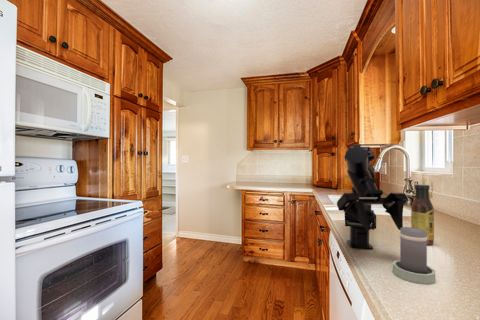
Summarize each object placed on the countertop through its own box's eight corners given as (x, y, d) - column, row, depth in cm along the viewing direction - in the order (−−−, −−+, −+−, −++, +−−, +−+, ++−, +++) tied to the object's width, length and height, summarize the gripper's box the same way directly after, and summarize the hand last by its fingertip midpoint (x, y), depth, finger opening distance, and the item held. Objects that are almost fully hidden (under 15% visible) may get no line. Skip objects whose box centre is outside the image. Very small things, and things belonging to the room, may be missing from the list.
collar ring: (388, 266, 63) (388, 259, 63) (423, 269, 61) (423, 261, 61) (401, 281, 55) (401, 272, 55) (443, 285, 53) (443, 276, 53)
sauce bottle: (435, 247, 78) (434, 186, 78) (411, 243, 82) (411, 184, 82) (433, 241, 83) (433, 184, 84) (411, 238, 87) (411, 183, 87)
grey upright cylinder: (396, 269, 61) (396, 226, 62) (420, 271, 60) (419, 227, 60) (406, 279, 56) (406, 232, 56) (432, 282, 55) (431, 233, 55)
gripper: (376, 195, 81) (398, 240, 71) (323, 195, 78) (338, 242, 68) (396, 175, 72) (424, 224, 62) (337, 174, 70) (357, 225, 60)
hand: (385, 229), depth 63 cm, fingers open, 9 cm apart
